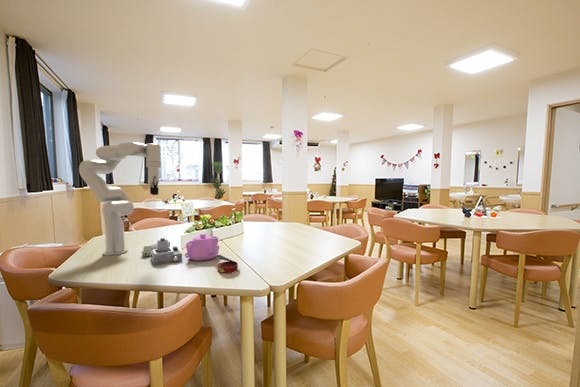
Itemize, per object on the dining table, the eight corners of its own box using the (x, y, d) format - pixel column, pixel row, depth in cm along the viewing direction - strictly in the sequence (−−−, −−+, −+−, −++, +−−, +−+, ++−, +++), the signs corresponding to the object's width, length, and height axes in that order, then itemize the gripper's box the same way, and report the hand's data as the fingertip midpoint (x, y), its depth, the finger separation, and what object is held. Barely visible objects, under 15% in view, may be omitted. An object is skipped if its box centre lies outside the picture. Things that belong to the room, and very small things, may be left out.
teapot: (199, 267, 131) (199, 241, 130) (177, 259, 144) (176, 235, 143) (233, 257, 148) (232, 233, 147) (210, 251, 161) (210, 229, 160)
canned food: (218, 278, 129) (215, 258, 132) (238, 273, 132) (234, 254, 136) (218, 275, 119) (215, 254, 122) (240, 270, 122) (236, 250, 126)
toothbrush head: (171, 240, 173) (148, 244, 148) (170, 250, 172) (147, 256, 147) (163, 240, 173) (139, 244, 148) (163, 250, 173) (139, 256, 148)
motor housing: (150, 258, 146) (150, 248, 145) (177, 254, 153) (177, 245, 153) (154, 266, 132) (153, 256, 132) (182, 261, 140) (182, 251, 139)
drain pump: (157, 252, 143) (156, 238, 143) (167, 251, 146) (167, 236, 145) (158, 254, 139) (157, 240, 138) (168, 253, 142) (168, 238, 141)
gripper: (144, 165, 154) (145, 193, 155) (147, 164, 139) (148, 195, 140) (158, 165, 158) (159, 193, 159) (162, 164, 144) (163, 194, 144)
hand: (154, 194), depth 150 cm, fingers open, 9 cm apart
